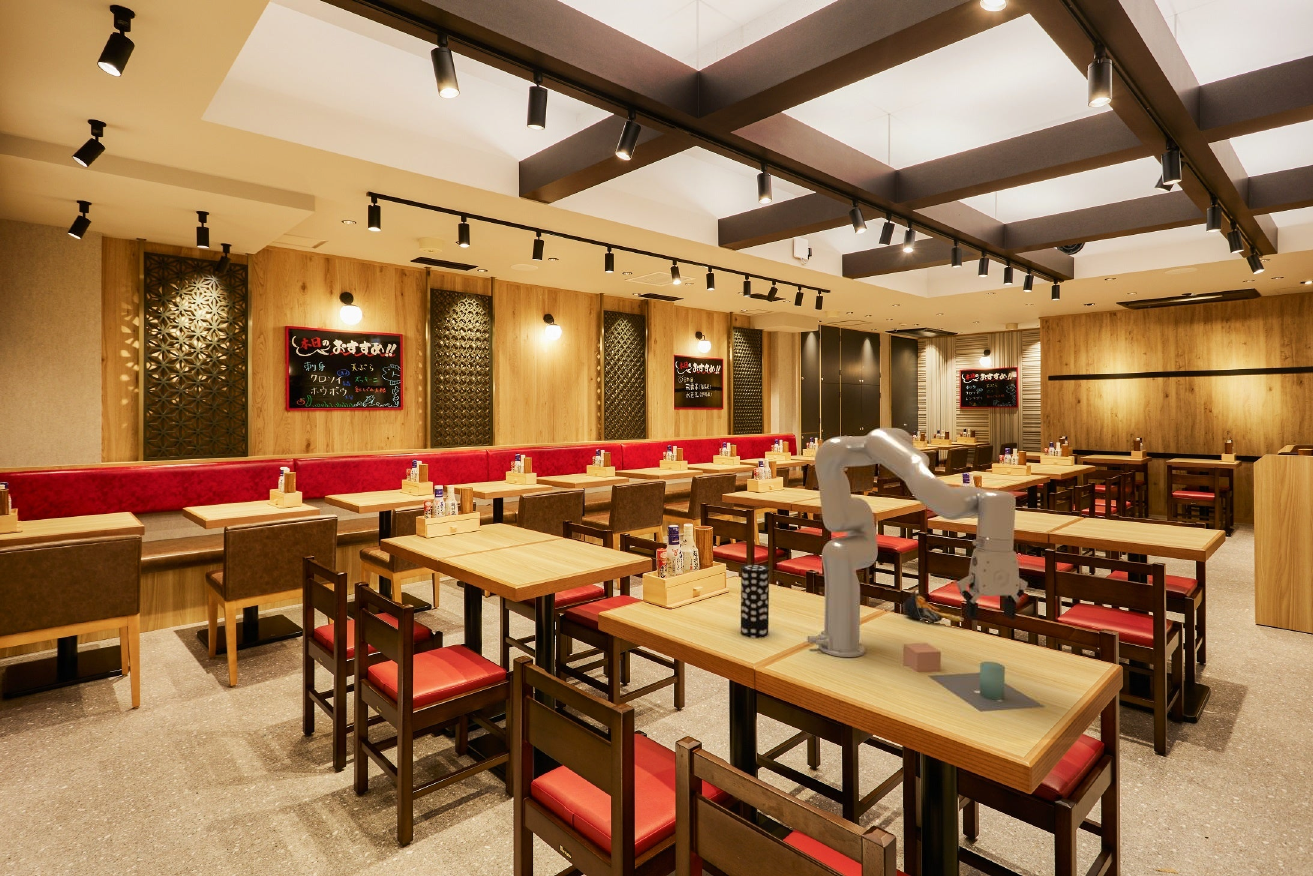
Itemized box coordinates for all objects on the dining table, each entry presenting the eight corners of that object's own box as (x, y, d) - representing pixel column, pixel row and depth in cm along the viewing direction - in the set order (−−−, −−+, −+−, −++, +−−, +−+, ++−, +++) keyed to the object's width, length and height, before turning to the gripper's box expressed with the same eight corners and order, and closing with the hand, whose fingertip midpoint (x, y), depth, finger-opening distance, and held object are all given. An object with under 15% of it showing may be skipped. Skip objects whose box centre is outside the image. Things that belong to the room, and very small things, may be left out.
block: (916, 676, 163) (917, 652, 163) (903, 666, 169) (903, 643, 169) (940, 674, 164) (940, 651, 164) (925, 665, 170) (926, 642, 170)
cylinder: (989, 700, 146) (990, 670, 146) (975, 691, 151) (975, 662, 151) (1009, 699, 147) (1009, 669, 147) (994, 690, 152) (995, 661, 152)
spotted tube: (739, 636, 192) (739, 569, 191) (742, 628, 200) (742, 564, 199) (767, 639, 190) (768, 571, 189) (769, 630, 198) (770, 565, 197)
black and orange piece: (906, 598, 219) (961, 589, 209) (912, 631, 213) (969, 624, 204) (896, 593, 212) (952, 583, 202) (902, 627, 207) (960, 619, 197)
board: (980, 715, 141) (980, 711, 141) (927, 679, 160) (927, 675, 160) (1045, 711, 143) (1045, 706, 143) (985, 676, 163) (986, 672, 163)
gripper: (970, 548, 143) (966, 624, 144) (1040, 548, 146) (1035, 622, 147) (950, 541, 150) (946, 613, 151) (1016, 541, 153) (1012, 612, 154)
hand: (990, 617), depth 149 cm, fingers open, 9 cm apart
